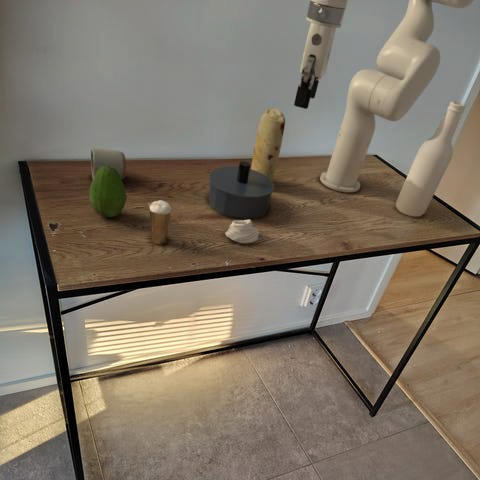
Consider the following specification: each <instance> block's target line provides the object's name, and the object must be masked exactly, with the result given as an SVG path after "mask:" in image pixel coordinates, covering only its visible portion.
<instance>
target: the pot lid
mask: <svg viewBox="0 0 480 480" xmlns="http://www.w3.org/2000/svg"><path fill="white" fill-rule="evenodd" d="M251 166H252V163H251V162H249V161H245V160H242V161H240V162H239V164H238V166H221V167H218V168H215V169H214V170H212V171H211V172H210V174H209V183H210V182H211V184H212V185H213V186H214V187H215V188H216V189H218V190H220V191H221V192H223V193H226V194H228V195H231V196H235V197H240V198H247V199H257V198H263V197H266V196H269V195H270V194H271V195H272V194H273V193H274V191H275V184H274V182H273V179H272V180H271V179H270V178H268V177H267V176H265V175H264V174H262V173H260V172H257V171H255V170H252V169H251Z"/></svg>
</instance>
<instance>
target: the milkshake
mask: <svg viewBox="0 0 480 480" xmlns="http://www.w3.org/2000/svg"><path fill="white" fill-rule="evenodd" d="M145 200H146V201H147V204H148V206H149V217H150V233H151V234H150V235H151V243H154V244H155V245H163V244H166V243H167V240H168V234H169V227H170V219H171V214H172V206H171V205H170V204H169V203H168V202H167V201H165V200H162V199H160V200H156V201H155V200H154V201H153V202H151V203H150V202H149V200H148V197H147V196H145Z"/></svg>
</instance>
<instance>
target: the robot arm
mask: <svg viewBox="0 0 480 480" xmlns="http://www.w3.org/2000/svg"><path fill="white" fill-rule="evenodd" d="M348 1H349V0H309V4H308V9H307V14H306V18H305V20H306V21H307V22H309V23H310V24H309V28H308V33H307V37H306V41H305V45H304V48H303V55H302V58H301V59H302V60H301V63H300V69H299V74H300V75H301V77H300V80H299V83H298V86H297V90H296V93H295V99H294V103H293V105H294V107H296V108H301V109H304V110H307V109H308V108H309V106H310V101H311V99H315V98H316V95H317V90H318V88H319V87H318V86H319V83H320V80H322V79H323V77H325V74H326V73H327V69H328V65H329V61H330V55H331V52H332V49H333V43H334V39H335V35H336V29H337V28H338V29H339V28H341V27H342V24H343V20H344V17H345V12H346V8H347V5H348ZM474 1H475V0H408V4H407V9H406V12H405V14H404V16H403V18H402V20H401V22H400V23H399V25H398V26H397V27H396V28H395V30H394V31H393V32H392V34H391V35H390V36H389V38H388V39H387V40H386V42H385V43H384V45H383V46H382V48H381V49H380V51H379V53H378V55H377V57H376V68H377V69H378V70H376V69H371V68H364V69H361V70H359V71H357V72H356V73H355V74H354V75H353V77H352V78H351V80H350V82H349V86H348V89H347V90H348V91H347V99H346V105H345V111H344V114H343V118H342V122H341V124H340V128H339V131H338V133H337V134H338V135H337V138H336V142H335V144H334V147H333V150H332V155H331V158H330V161H329V165H328V167H327V171H324V172H322V173H321V174H320V177H319V181H320V182H321V183H322V184H323V185H324V186H326V187H327V188H329V189H331V190H334V191H336V192H340V193H356V192H358V191H359V190H360V188H361V183H360V181H359V180H358V179H359V176H360V173H361V170H362V167H363V164H364V162H365V159H366V156H367V153H368V151H369V148H370V145H371V142H372V139H373V137H374V134H375V130H376V117H375V116H377V117H380V118H381V119H385V120H386V121H390V122H397V121H399V120H401V119H402V118H403V117H405V116H406V114H407V113H408V112H409V110H411V109H412V107H413V106H414V104H415V103H416V102H417V101H418V99H419V98H420V96H421V95H422V93H424V91H425V90H426V88H427V87H428V86H429V84H431V82H432V80H433V78H434V77H435V75H436V73H437V70H438V69H439V66H440V63H441V52H440V50H439V49H438V47H437V46H435V45H433V44H431V43H429V42H427V41H428V40H429V38H430V37H431V36H432V34H433V32H434V27H435V18H434V12H433V3H435V4H439V5H443V6H446V7H451V8H454V9H464V8H466V7H468V6H470V5H471V4H473V2H474Z"/></svg>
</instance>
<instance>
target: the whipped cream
mask: <svg viewBox="0 0 480 480" xmlns="http://www.w3.org/2000/svg"><path fill="white" fill-rule="evenodd" d="M259 233H260V232H259V230H258V228H257V227H256V226H255V227H254V226H253V221H252V219H240V220H239V219H238V220H237V219H235V220H232V222H231V223H230V225H229V227H228V228H227V231H225V233H224V234H225V236H226V237H227V238H229V239H230V240H231V241H233V242H236V243H239V244H245V245H247V244H252V243H255V242H256V241H258V239H259V235H260V234H259Z"/></svg>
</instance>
